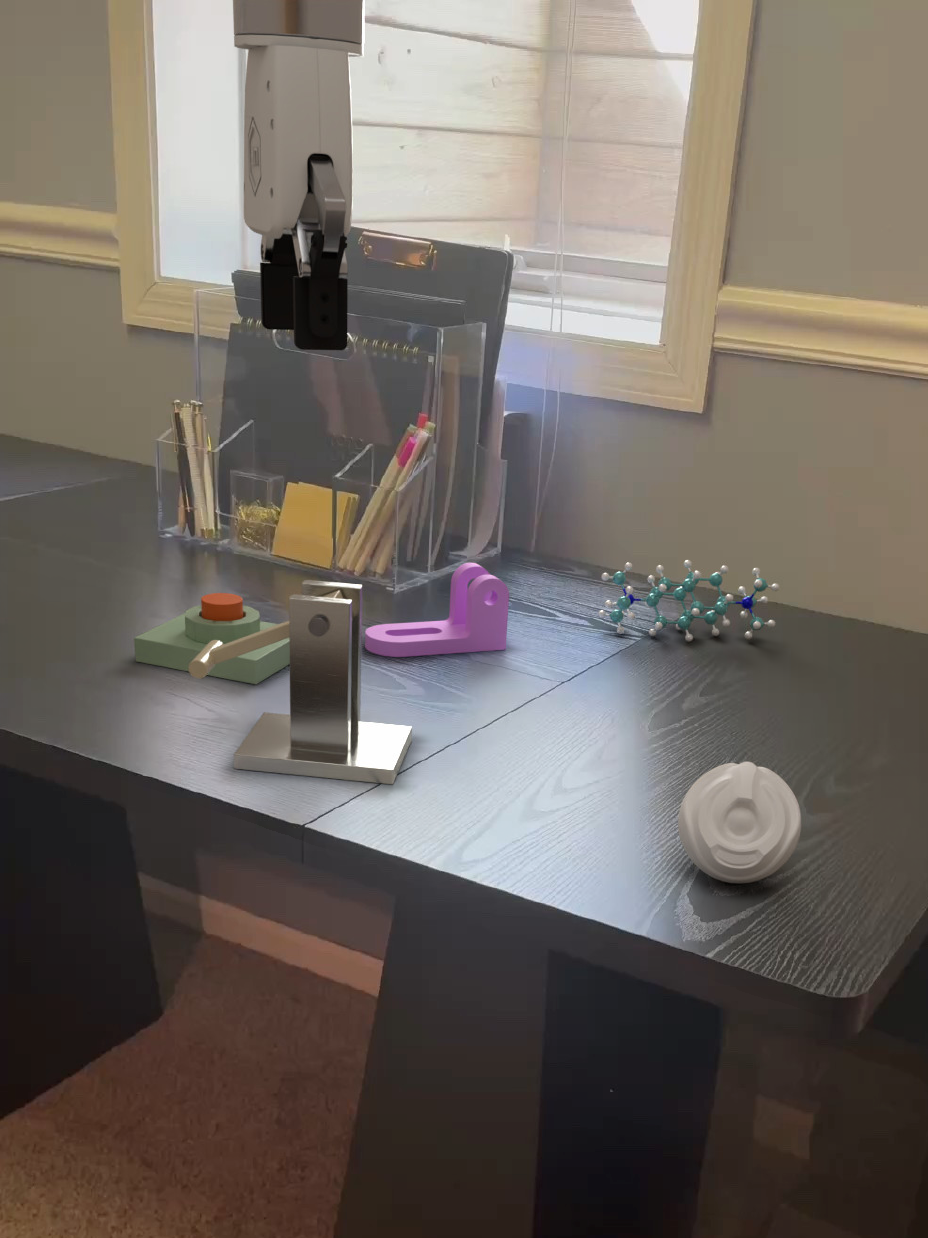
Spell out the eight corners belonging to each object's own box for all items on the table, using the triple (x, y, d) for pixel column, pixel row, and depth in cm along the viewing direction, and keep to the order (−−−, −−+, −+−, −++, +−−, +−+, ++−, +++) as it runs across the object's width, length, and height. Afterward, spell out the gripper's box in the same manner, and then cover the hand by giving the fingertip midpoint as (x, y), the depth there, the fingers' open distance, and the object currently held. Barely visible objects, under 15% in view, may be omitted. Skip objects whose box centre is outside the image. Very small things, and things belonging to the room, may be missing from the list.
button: (194, 620, 122) (193, 600, 121) (214, 609, 125) (214, 590, 124) (230, 626, 121) (229, 606, 120) (250, 615, 124) (249, 596, 123)
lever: (196, 687, 102) (181, 658, 101) (215, 665, 106) (201, 637, 105) (343, 634, 99) (329, 603, 98) (356, 614, 103) (343, 584, 102)
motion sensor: (667, 892, 90) (682, 784, 86) (675, 843, 96) (689, 740, 93) (791, 909, 89) (811, 800, 85) (789, 859, 95) (809, 755, 92)
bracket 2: (483, 631, 136) (487, 561, 133) (505, 649, 132) (510, 577, 128) (357, 640, 131) (358, 567, 128) (376, 658, 127) (377, 584, 123)
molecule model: (591, 620, 142) (598, 550, 138) (758, 626, 144) (769, 557, 140) (604, 646, 135) (611, 573, 131) (779, 651, 137) (791, 579, 133)
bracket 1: (233, 769, 103) (228, 600, 97) (264, 725, 111) (260, 567, 104) (393, 784, 102) (397, 616, 96) (411, 740, 110) (417, 582, 104)
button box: (135, 661, 122) (132, 617, 120) (194, 631, 130) (192, 589, 128) (256, 684, 119) (255, 640, 117) (308, 652, 127) (308, 610, 125)
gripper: (208, 25, 86) (219, 321, 94) (265, 7, 72) (272, 357, 80) (326, 36, 88) (327, 323, 96) (403, 20, 74) (397, 359, 82)
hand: (302, 338), depth 88 cm, fingers open, 9 cm apart
